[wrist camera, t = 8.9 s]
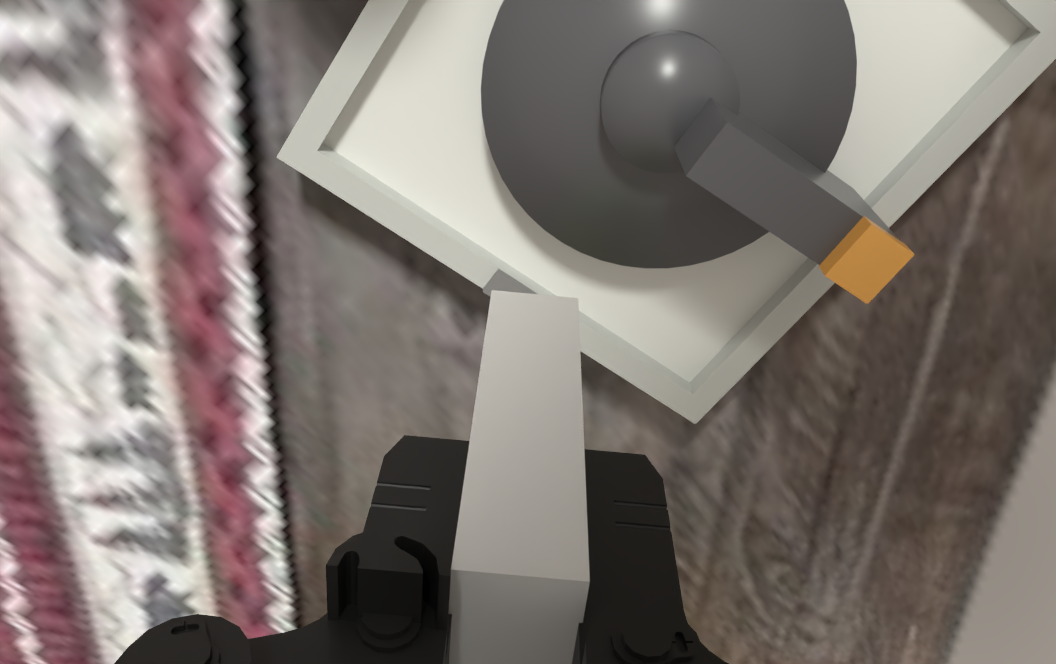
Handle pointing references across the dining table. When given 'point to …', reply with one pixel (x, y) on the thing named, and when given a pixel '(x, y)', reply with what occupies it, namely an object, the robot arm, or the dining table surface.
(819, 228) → the dial
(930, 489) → the dining table surface
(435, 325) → the dining table surface
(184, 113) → the dining table surface
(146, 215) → the dining table surface
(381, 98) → the panel
